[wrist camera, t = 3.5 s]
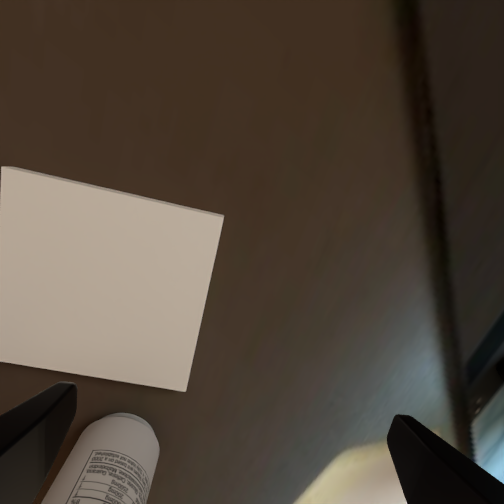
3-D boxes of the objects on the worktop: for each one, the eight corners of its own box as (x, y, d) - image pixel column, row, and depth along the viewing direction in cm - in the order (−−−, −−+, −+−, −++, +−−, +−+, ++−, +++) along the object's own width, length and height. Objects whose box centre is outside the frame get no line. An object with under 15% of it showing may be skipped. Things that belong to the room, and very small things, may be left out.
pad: (224, 215, 20) (223, 217, 19) (187, 382, 23) (185, 392, 22) (13, 166, 19) (1, 166, 18) (5, 351, 22) (-6, 360, 21)
